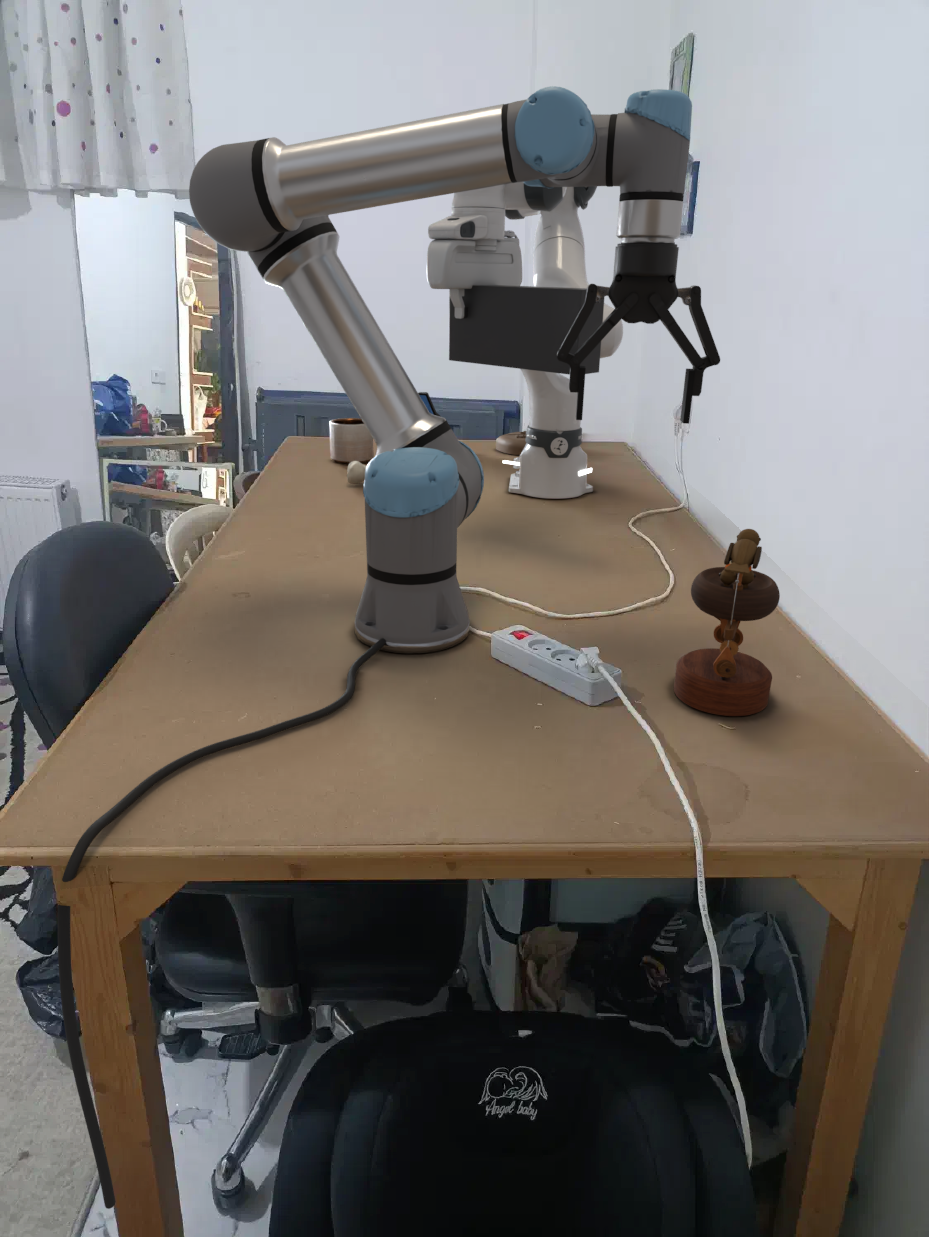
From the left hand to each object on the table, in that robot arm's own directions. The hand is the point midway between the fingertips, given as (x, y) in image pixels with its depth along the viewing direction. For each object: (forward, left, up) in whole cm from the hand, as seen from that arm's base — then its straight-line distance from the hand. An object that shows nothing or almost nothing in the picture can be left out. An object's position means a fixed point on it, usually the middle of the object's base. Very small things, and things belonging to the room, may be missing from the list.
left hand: (631, 420), depth 110 cm
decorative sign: (+112, +44, -27) cm, 123 cm away
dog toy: (+73, +45, -27) cm, 90 cm away
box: (+33, +16, +3) cm, 37 cm away
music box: (-23, -11, -27) cm, 37 cm away
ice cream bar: (+112, +13, -27) cm, 116 cm away
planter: (+96, +60, -27) cm, 117 cm away
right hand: (+39, +24, +10) cm, 47 cm away
